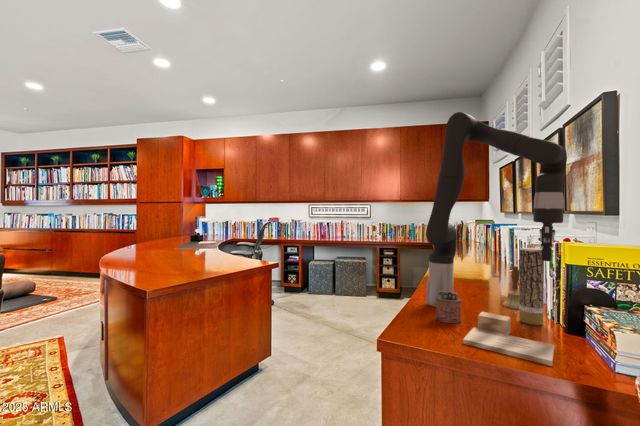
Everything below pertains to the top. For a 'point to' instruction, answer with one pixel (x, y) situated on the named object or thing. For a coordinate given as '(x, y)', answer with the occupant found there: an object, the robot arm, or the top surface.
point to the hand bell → (513, 291)
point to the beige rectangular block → (494, 323)
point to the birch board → (511, 345)
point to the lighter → (448, 307)
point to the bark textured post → (531, 286)
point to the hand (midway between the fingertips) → (546, 259)
